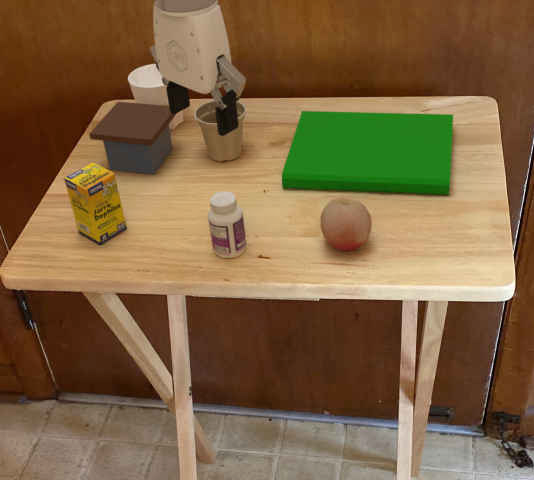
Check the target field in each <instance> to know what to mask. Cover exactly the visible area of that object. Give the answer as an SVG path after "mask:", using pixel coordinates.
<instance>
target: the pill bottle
mask: <svg viewBox="0 0 534 480" xmlns="http://www.w3.org/2000/svg"><path fill="white" fill-rule="evenodd" d="M209 206H210V209H209V210H208V212H207V220H208V225H209V233H210V239H211V244H212V251H213V252H214V254H215V255H216V256H217V257H220V258H223V259H232V258H233V259H235V258H237V257H240V256H242V254H244V253H245V251H246V249H247V238H246V236H247V235H246V229H245V222H244V221H245V220H244V213H243V209H242V208H241V206H240V205H238V202H237V197H236V195H235V193H233V192H230V191H218V192H215V193H214V194H213V195H211V197H210V198H209Z"/></svg>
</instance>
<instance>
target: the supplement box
mask: <svg viewBox="0 0 534 480" xmlns="http://www.w3.org/2000/svg"><path fill="white" fill-rule="evenodd" d="M63 180H64V184H65V187H66V191H67V195H68V198H69V202H70V206H71V209H72V213H73V217H74V220H75V225H76V227H77V231H78V233H79V234H80V235H82V236H83V237H85V238H87V239H89V240H90V241H92V242H94V243H96V244H97V245H99V246H102V245H103V244H105V243H106V242H107V241H109V240H110V239H113V238H115V237H116V236H117V235H119V234H121V233H123V232H124V231H127V230H128V226H127V223H126V218H125V214H124V209H123V205H122V201H121V195H120V192H119V188H118V183H117V178H116V175H115V172H113V171H112V170H110V169H107V168H104V167H103V166H101V165H99V164H98V163H95V162H93V161H92V162H90V163H89V164H87V165H86V166H84V167H82V168H80V169H78V170H76V171H74V172H72V173H70V174H69V175H65V176H64V178H63Z"/></svg>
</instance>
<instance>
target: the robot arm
mask: <svg viewBox="0 0 534 480" xmlns="http://www.w3.org/2000/svg"><path fill="white" fill-rule="evenodd" d="M218 3H219V0H155V1H154V2H153V7H152V9H153V10H152V12H153V13H152V25H153V27H152V28H153V38H154V39H153V40H154V44H153V45H151V46H150V47H149V50H150V53H151V56H152V57H153V60H154V61H155V64H156V68H157V69H158V71H159V72H160V74H161V75H162V83H163V84H164V85H165V86H167V87H166V91H167V97H168V103H169V108H170V113H172V114H176V113H178V112H180V111H182V110H183V111H184V110H186V109H188V108H189V107H190V106H191V101H190V94H189V90H190V91H194V92H196V93H199V94H202V95H208V94H209V93H210V95H211V97H212V98H213V100H215V102H216V103H217V105H218V107H216V108H215V113H216V121H217V129H218V134H219V135H221V136H224V135H226V134H228V133H230V132H231V131H233V130H235V129H237V128H238V126H239V124H238V115H237V106H236V102H238V101H240V98H241V97H242V96H243V95H244V90H245V86H246V83H247V79H246V77H245V76H244V75H243V74H242V73H241V72H240V71H239V70H238V68H237V67H236V66H235V65H234V64H233V63H232V56H231V55H232V54H231V49H230V43H229V38H228V33H227V28H226V24H225V19H224V16H223V12H222V10H221V5H220V4H218ZM222 87H223V89H224V92H225V94H224V95H222V93H221V91H220V89H221V88H222Z"/></svg>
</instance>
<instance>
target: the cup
mask: <svg viewBox="0 0 534 480" xmlns="http://www.w3.org/2000/svg"><path fill="white" fill-rule="evenodd" d="M127 81H128V84H129V87H130V89H131V90H130V91H131V92H132V96H133V99H134V101H135V103H140V104H151V105H163V106H169V103H168V97H167V91H166V87H167V86H165V85H164V84H163V83H162V75H161V74H160V72H159V71H158V69H157V68H156V63H151V64H146V65H142V66H140V67H137V68H136V69H134V70H132V71H131V72H130V73H129V74H128V77H127ZM181 123H184V110H182V111H180V112H178V113H177V114H176V115H175V117H174V118H173V119H172V120H171V122H170V123H169V129H170V131H171V130H172V131H174V130H175V129H176V127H177V126H179V125H180V124H181Z"/></svg>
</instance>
